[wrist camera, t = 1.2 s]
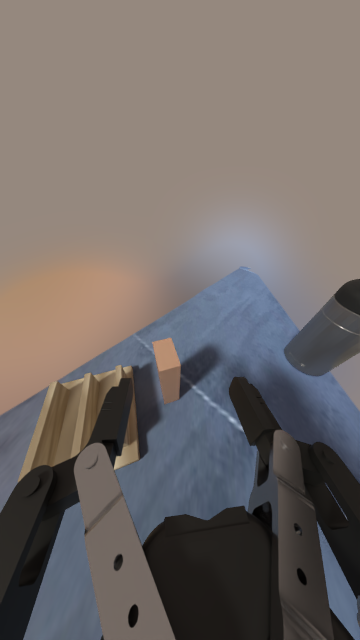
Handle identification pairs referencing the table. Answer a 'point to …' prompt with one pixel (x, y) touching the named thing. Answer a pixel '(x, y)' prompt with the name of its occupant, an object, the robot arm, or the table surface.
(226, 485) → the table surface
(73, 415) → the wooden slotted stand
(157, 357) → the clay slat
